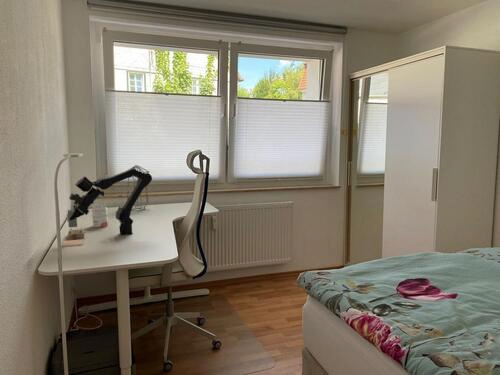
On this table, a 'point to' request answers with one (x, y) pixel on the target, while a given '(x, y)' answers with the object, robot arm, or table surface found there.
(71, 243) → the rubber mat
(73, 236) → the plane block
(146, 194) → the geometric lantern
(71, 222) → the dark gray rectangular block
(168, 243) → the table surface
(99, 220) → the ink cartridge box
